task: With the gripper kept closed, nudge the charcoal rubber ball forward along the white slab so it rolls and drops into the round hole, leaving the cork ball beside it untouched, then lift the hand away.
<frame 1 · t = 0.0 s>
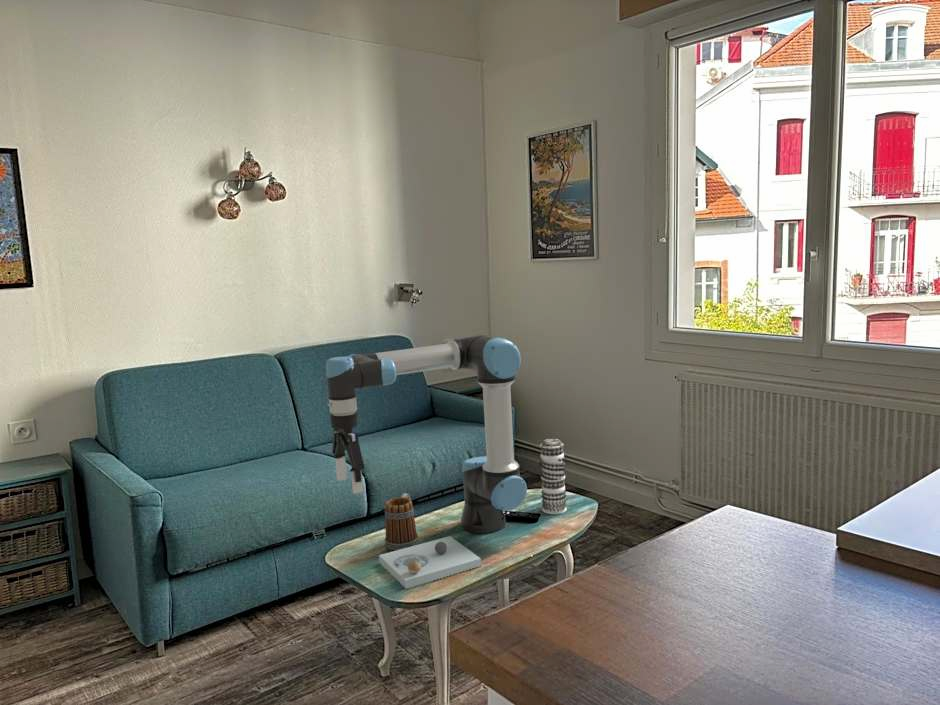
hand: (349, 486, 204), 28 cm above the table, tool pointing down, fingers open, 13 cm apart
decorative candle: (554, 510, 253), on the table
mug: (404, 544, 232), on the table
ball: (440, 547, 216), point 4 cm above the table, touching white slab
cork ball: (414, 566, 204), point 4 cm above the table, touching white slab
white slab: (429, 564, 215), on the table
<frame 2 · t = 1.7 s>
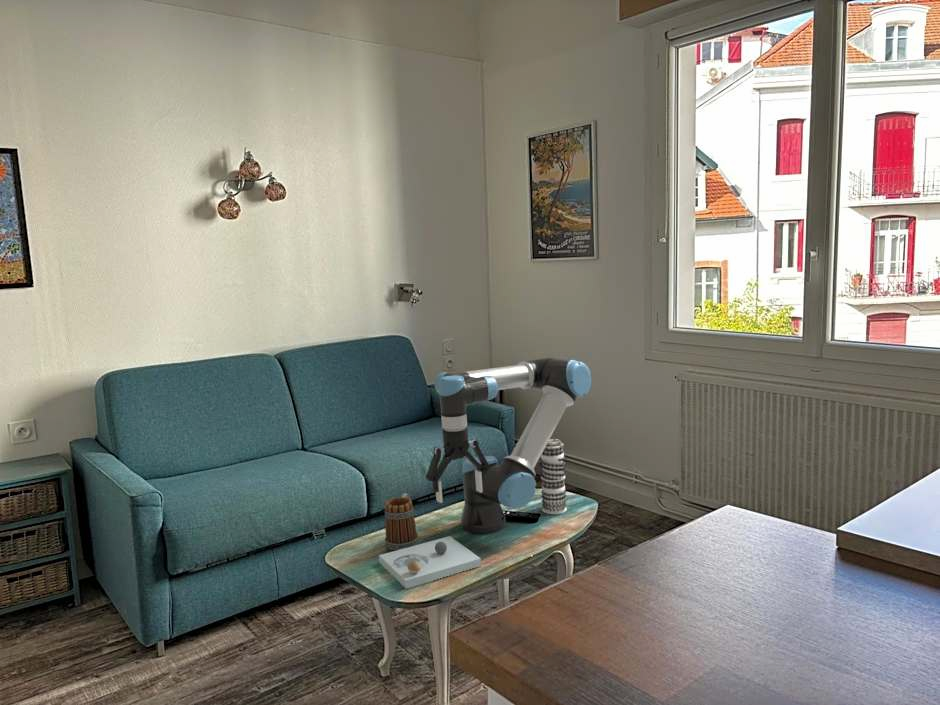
hand: (459, 496, 218), 19 cm above the table, tool pointing down, fingers open, 13 cm apart
nothing on the table moved.
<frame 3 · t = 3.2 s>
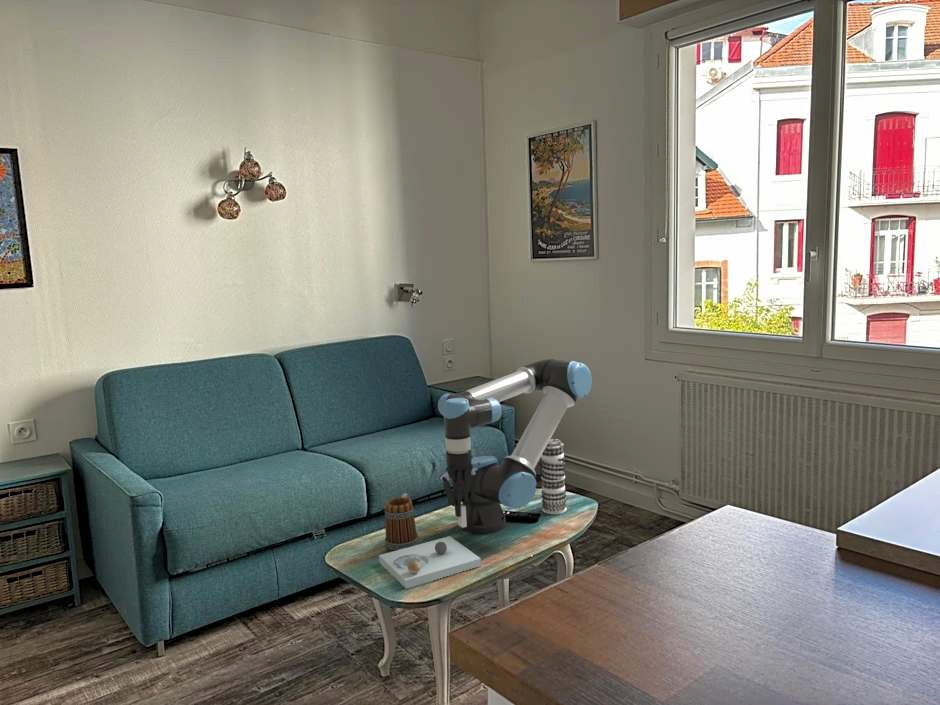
hand: (462, 525, 219), 9 cm above the table, tool pointing down, fingers closed
nothing on the table moved.
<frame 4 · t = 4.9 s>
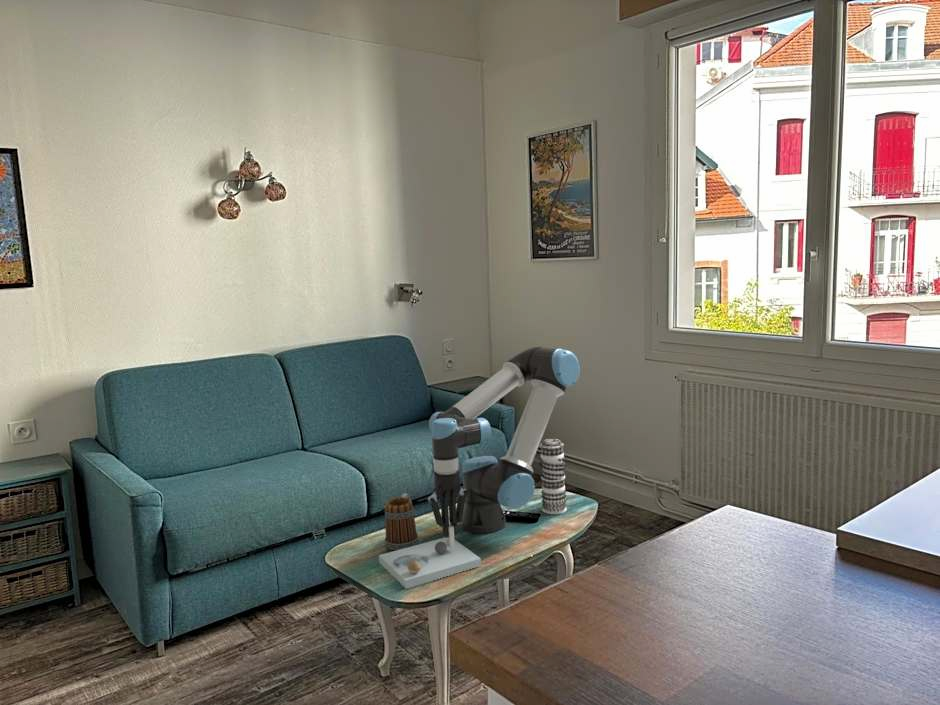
hand: (450, 546, 218), 4 cm above the table, tool pointing down, fingers closed
nothing on the table moved.
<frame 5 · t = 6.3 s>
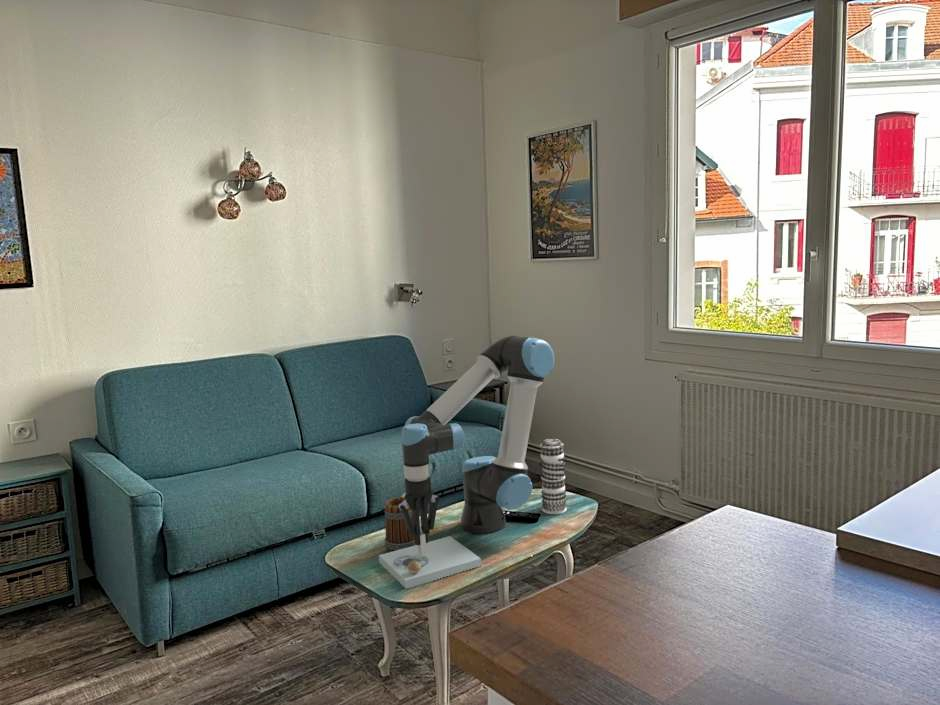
hand: (422, 554, 213), 4 cm above the table, tool pointing down, fingers closed
ball: (409, 564, 212), point 2 cm above the table, tilted 10°
everything else where it was.
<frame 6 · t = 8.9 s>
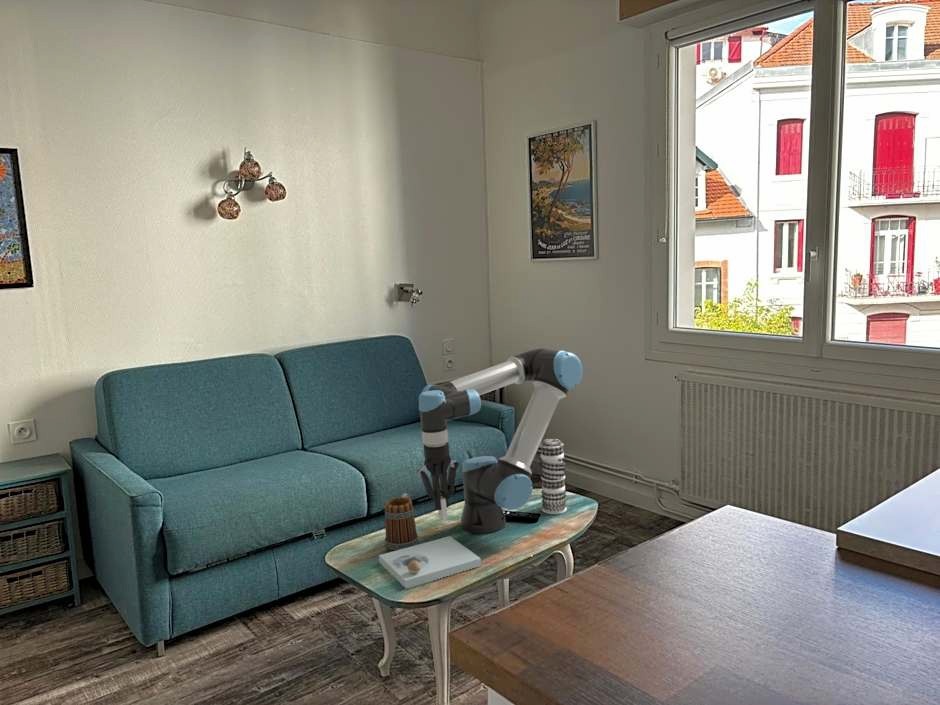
hand: (443, 518, 217), 13 cm above the table, tool pointing down, fingers closed
ball: (413, 563, 212), point 2 cm above the table, tilted 35°
everything else where it was.
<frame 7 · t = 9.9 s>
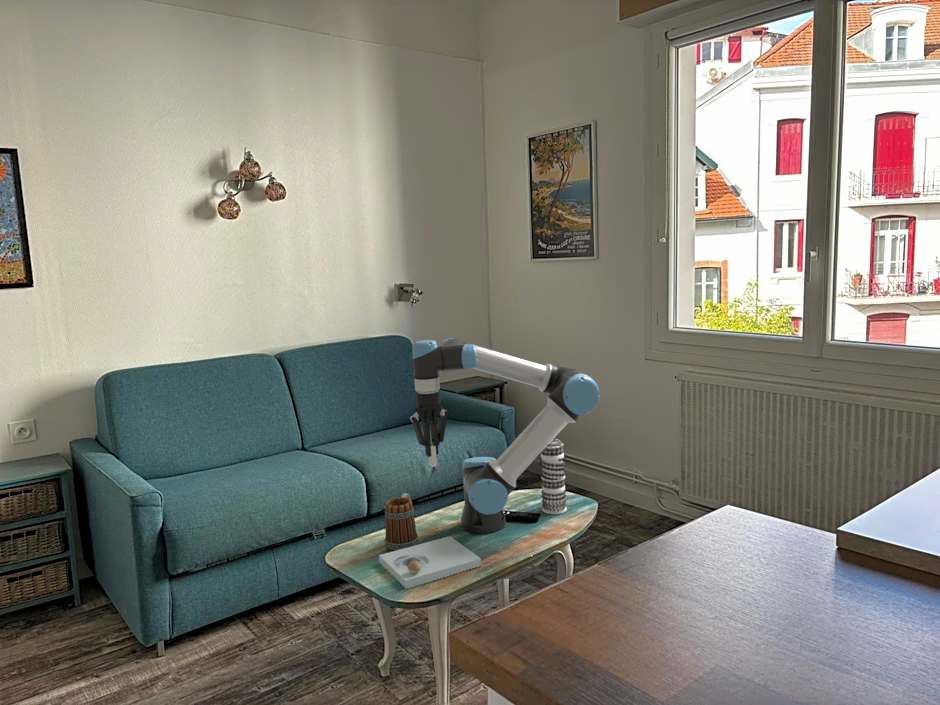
hand: (432, 465, 224), 26 cm above the table, tool pointing down, fingers closed
nothing on the table moved.
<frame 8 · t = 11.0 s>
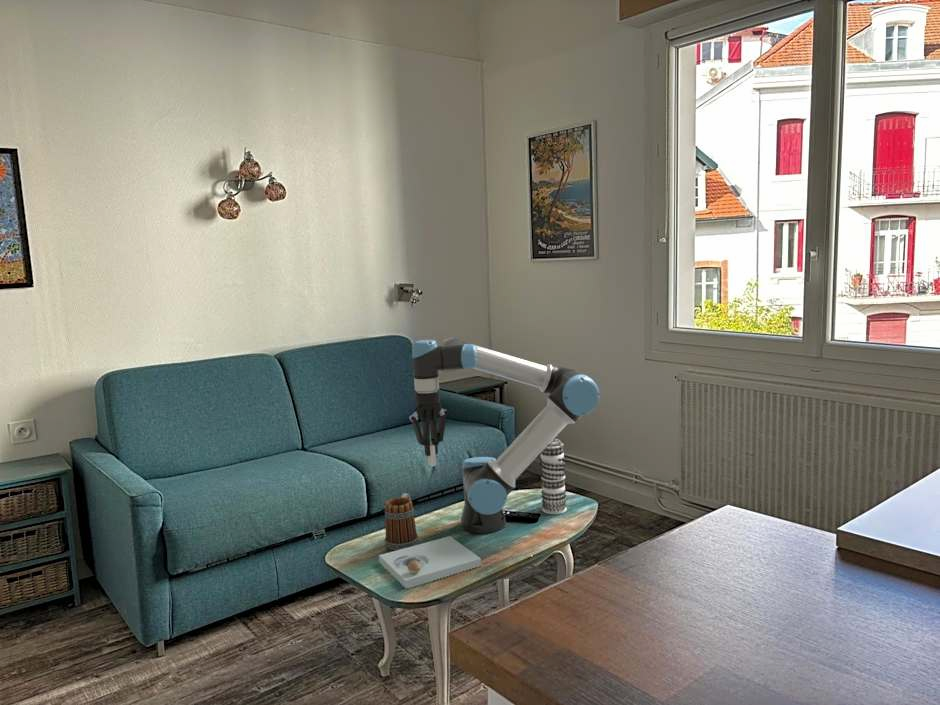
hand: (432, 465, 224), 26 cm above the table, tool pointing down, fingers closed
nothing on the table moved.
at the end: ball 0.7 cm from the target spot in the white slab, point 1.8 cm above the white slab's base; cork ball moved 0.0 cm from its start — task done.
